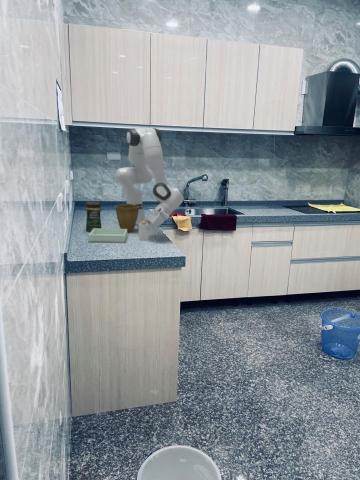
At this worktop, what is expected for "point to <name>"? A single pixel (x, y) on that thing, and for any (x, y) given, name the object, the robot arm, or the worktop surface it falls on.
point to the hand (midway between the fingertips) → (145, 228)
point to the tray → (108, 235)
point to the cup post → (143, 232)
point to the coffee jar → (93, 215)
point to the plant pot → (127, 216)
